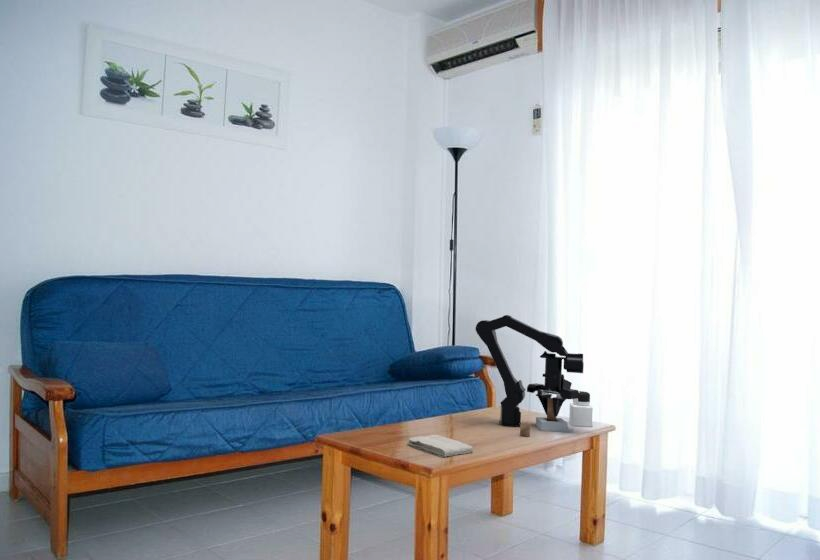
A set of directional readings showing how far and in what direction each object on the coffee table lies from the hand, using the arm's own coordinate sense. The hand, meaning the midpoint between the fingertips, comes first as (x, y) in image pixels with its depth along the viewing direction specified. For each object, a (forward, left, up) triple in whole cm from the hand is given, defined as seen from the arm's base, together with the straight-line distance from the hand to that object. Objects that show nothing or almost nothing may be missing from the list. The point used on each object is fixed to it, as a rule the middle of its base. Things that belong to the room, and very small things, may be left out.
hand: (551, 415), depth 227 cm
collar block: (0, 0, -4) cm, 4 cm away
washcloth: (-42, -36, -5) cm, 55 cm away
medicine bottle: (+13, +9, -5) cm, 17 cm away
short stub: (-12, -14, -5) cm, 19 cm away
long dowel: (0, 0, -3) cm, 3 cm away
